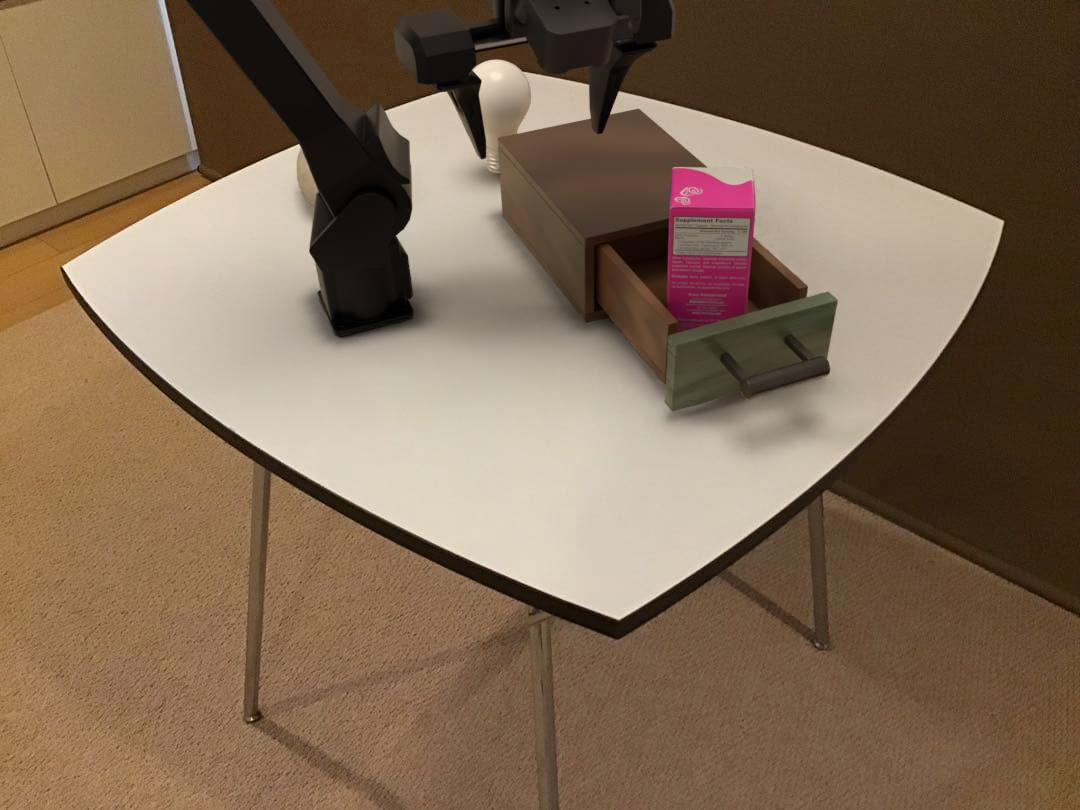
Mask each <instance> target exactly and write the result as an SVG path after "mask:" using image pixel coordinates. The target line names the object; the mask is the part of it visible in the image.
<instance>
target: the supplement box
mask: <svg viewBox="0 0 1080 810" xmlns="http://www.w3.org/2000/svg"><path fill="white" fill-rule="evenodd" d="M756 204H757V203H756V186H755V175H754V168H753V167H751V166H748V167H746V166H744V167H740V166H739V167H708V168H702V167H673V169H672V177H671V190H670V210H669V243H668V282H667V310H668V311H669V312H670V313H671V314H672V315H673V316H674V318H675V319H676V320H677V321H678V332H677V333H679V332H682V331H686V330H690V329H693V328H697V327H701V326H704V325H708V324H712V323H715V322H719V321H722V320H726V319H730V318H733V317H737V316H741V315H744V314H747V303H748V290H749V278H750V267H751V256H752V244H753V237H754V234H755V233H754V232H755V221H756V220H755V219H756V210H757V209H756V208H757V205H756Z"/></svg>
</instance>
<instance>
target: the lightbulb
mask: <svg viewBox="0 0 1080 810" xmlns="http://www.w3.org/2000/svg"><path fill="white" fill-rule="evenodd" d="M472 70H473V71H474V73H475V74H476V75H477V76H478V77H479V78H480V79H481V80H482V83H481V87H480V91H479V99H480V105H481V112H482V118H483V124H484V130H485V136H486V162H487V163H486V165H487V167H486V168H487V170H488V171H489V172H491V173H493V174H495V175H498V176H500V169H499V153H498V138H499V137H504V136H509V135H514V134H518V131H519V127H520V126H521V124H522V122H523V121H524V119H525V118H526V116H527V114H528V112H529V109H530V106H531V102H532V90H531V84H530V82H529V80H528V78H527V75H525V73H524V71H522V70H521V69H520V68H519V67H518V66H517V65H515V64H514V63H512V62H510V61H507V60H504V59H489V60H485V61H483V62H481V63H479V64H476V65H475V67H474V68H473V69H472Z"/></svg>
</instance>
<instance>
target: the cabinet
mask: <svg viewBox="0 0 1080 810" xmlns="http://www.w3.org/2000/svg"><path fill="white" fill-rule="evenodd" d="M498 153H499V169H500V175H499V180H500V181H499V182H500V184H499V185H500V199H501V213H502V214H501V215H502V217H503V218H504V219H505V221H506V222H507V223H508V225H509V226H510V227H511V228H512V230H513V232H515V234H516V235H517V237H519V239H520V240H521V241H522V242H523V244H524V245H525V247H526V248H527V250H529V252H530V253H531V254H532V256H533V257H534V258H535V260H536V261H537V262H538V263H539V265H540V266H541V267H542V268H543V270H544V271H545V272H546V274H547V276H549V278H550V279H551V280H552V282H553V283H554V284H555V286H556V287H557V288H558V289H559V291H560V292H561V293H562V294H563V296H564V298H566V300H567V302H569V304H570V306H571V307H573V309H574V310H575V312H576V313H577V314H578V315H579V316H580V318H581V320H583V322H584V323H589V322H593V321H598V320H601V319H604V318H608V317H609V316H608V314H607V313H606V312H605V311H604V309H603V308H602V307H601V306H600V304H599V303H598V302H597V301H596V299H595V298H594V245H596V244H600V243H604V242H608V241H612V240H617V239H621V238H625V237H629V236H633V235H637V234H641V233H645V232H649V231H654V230H658V229H662V228H666V227H669V210H670V190H671V177H672V169H673V167H702V168H709V167H708V166H707V165H706V164H705V163H703V162H702V161H701V160H700V159H699V158H698V157H696V156H695V155H694V154H693V152H691V151H689V150H688V149H687V148H686V147H685V146H684V145H682V144H681V143H680V142H679V141H677V140H676V139H675V138H674V137H673V136H672V135H670V133H668V132H667V131H666V130H665V129H664V128H663V127H662V126H660V125H659V124H658V123H657V122H655V121H654V120H653V119H652V118H651V117H650V116H648V115H647V114H646V113H645V112H644V111H642V110H641V109H640V108H634V109H630V110H625V111H621V112H616V113H610V116H609V118H608V121H607V123H606V126H605V129H604V131H603V133H602V134H596V133H595V132H594V131H593V129H592V123H591V118H586V119H582V120H581V119H580V120H577V121H572V122H567V123H562V124H558V125H557V124H556V125H552V126H548V127H543V128H537V129H533V130H529V131H524V132H519V133H518V132H517V134H514V135H509V136H504V137H499V138H498Z"/></svg>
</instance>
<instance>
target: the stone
mask: <svg viewBox="0 0 1080 810" xmlns="http://www.w3.org/2000/svg"><path fill="white" fill-rule="evenodd" d="M296 180H297V183H298V187H299V189H300V191H301V193H302V195H303V196H304V197H305V199H306V201H308V202H309V203H310V204H311V205H313V206H315V199H316V194H317V193H318V192H319V191H318V189H317V187H316V184H315V181H314V179H313V176H312V174H311V171H310V169H309V166H308V164H307V161H306V159H305V156H304V154H303V151H302V149H301V148H300V150H299V152H298V155H297V159H296Z"/></svg>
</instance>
